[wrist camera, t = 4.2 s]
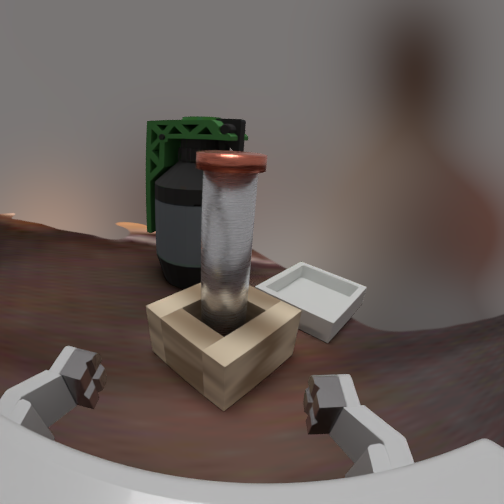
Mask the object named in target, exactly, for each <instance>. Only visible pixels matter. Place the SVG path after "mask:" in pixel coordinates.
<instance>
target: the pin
mask: <svg viewBox="0 0 504 504" xmlns="http://www.w3.org/2000/svg"><path fill="white" fill-rule="evenodd" d="M266 163H267V155H264V154H259V153H251V152H241V151H222V150H209V151H198V152H196V168H197V169H200V170H203V188H202V222H201V318H202V323H204V324H205V325H207V326H208V327H210V328H211V329H213V330H214V331H216V332H217V333H219V334H220V335H222V336H223V337H225V336H227V335H228V334H230V333H232V332H233V331H235V330H236V329H238V328H240V327H241V326H243V325H244V324H246V312H247V300H248V288H249V276H250V264H251V252H252V240H253V228H254V216H255V204H256V192H257V180H258V173H263V172H266V165H267V164H266Z"/></svg>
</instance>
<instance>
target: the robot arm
mask: <svg viewBox="0 0 504 504" xmlns="http://www.w3.org/2000/svg"><path fill="white" fill-rule="evenodd" d="M101 361H102V359H101V357H100V354H97V353H94V352H90V351H86V350H82V349H79V348H75V347H71V346H66V347H65V348H64V349H63V351H62V352H61V354H60V355H59V356H58V358H57V359H56V361H55V362H54V364H53V365H52V367H51V368H50V370H49V371H48V370H45V371H43V372H41V373H39V374H37V375H35V376H33V377H31V378H30V379H28V380H26V381H24V382H22V383H20V384H18V385H16V386H14V387H12V388H10V389H8V390H6V392H5V393H4V395H3V396H2V398H1V399H0V504H504V448H503V447H501V446H499V445H498V444H496V443H494V442H493V441H490V440H488V439H480V440H477V441H475V442H472V443H470V444H468V445H465V446H463V447H460V448H458V449H455V450H453V451H450V452H447V453H444V454H442V455H439V456H436V457H433V458H430V459H426V460H423V461H420V462H416V463H414V461H413V458H412V455H411V452H410V450H409V447H408V444H407V441H406V439H405V437H404V436H402V435H401V434H400V433H398V432H397V431H396V430H395V429H393V428H392V427H391V426H389V425H388V424H387V423H386V422H384V421H383V420H382V419H381V418H379V417H378V416H377V415H376V414H374V413H373V412H372V411H371V410H369V409H368V408H367V407H366V406H364V405H362V406H361V405H360V402H359V399H358V396H357V393H356V390H355V387H354V384H353V381H352V378H351V376H350V375H349V374H342V375H311V376H310V378H309V381H308V384H309V387H308V388H307V389H306V390H305V394H304V401H303V402H304V412H305V413H306V414H307V415H308V416H307V419H306V426H307V432H308V434H329V435H330V436H331V437H332V439H333V440H334V441H335V442H336V443H337V444H338V445H339V447H340V448H341V449H342V450H343V451H344V452H345V453H346V454H347V455H348V457H349V458H350V459H351V460H352V461H353V462H354V463H355V464H354V465H353V466H352V468H351V469H350V470H349V471H348V472H347V473H346V475H345V477H346V478H341V479H333V480H325V481H314V482H301V483H274V484H259V483H232V482H219V481H208V480H199V479H192V478H185V477H178V476H172V475H166V474H161V473H156V472H151V471H147V470H142V469H138V468H134V467H130V466H126V465H122V464H119V463H115V462H112V461H108V460H105V459H102V458H99V457H96V456H93V455H90V454H87V453H84V452H81V451H78V450H76V449H73V448H70V447H68V446H65V445H63V444H60V443H58V442H56V441H54V439H55V438H54V435H53V434H52V433H51V431H50V430H49V429H48V427H49V426H51V425H52V424H53V423H55V422H56V421H57V420H59V419H60V418H61V417H62V416H64V415H65V414H66V413H68V412H69V411H70V410H72V409H73V408H74V407H76V406H77V405H80V406H84V407H87V408H91V409H94V408H95V406H96V404H97V402H98V400H99V394H98V392H100V391H102V390H103V389H104V386H105V384H106V371H105V368H104V367H103V366H102V365H101V364H100V363H101ZM76 404H77V405H76Z"/></svg>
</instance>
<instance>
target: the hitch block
mask: <svg viewBox="0 0 504 504" xmlns="http://www.w3.org/2000/svg"><path fill="white" fill-rule="evenodd" d="M146 310H147V317H148V324H149V331H150V337H151V343H152V349H153V352H154V353H156V354H157V355H158V356H159V357H160V358H161V359H162V360H163V361H164V362H165V363H166V364H167V365H169V366H170V367H171V368H172V369H173V370H174V371H175V372H176V373H177V374H179V375H180V376H181V377H182V378H183V379H184V380H186V381H187V382H188V383H189V384H190V385H191V386H193V387H194V388H195V389H196V390H197V391H199V392H200V393H201V394H202V395H204V396H205V397H206V398H207V399H209V400H210V401H211V402H212V403H214V404H215V405H216V406H217V407H219V408H220V409H221V410H223V411H225V410H226V409H227V408H229V407H230V406H231V405H233V404H234V403H235V402H236V401H238V400H239V399H240V398H241V397H243V396H244V395H245V394H246V393H248V392H249V391H250V390H251V389H253V388H254V387H255V386H256V385H257V384H259V383H260V382H261V381H262V380H263V379H265V378H266V377H267V376H268V375H269V374H271V373H272V372H273V371H274V370H275V369H276V368H278V367H279V366H280V365H281V364H282V363H283V362H284V361H285V360H287V359H288V358H289V357H290V356H291V355H292V354H293V350H294V345H295V340H296V336H297V331H298V326H299V322H300V317H301V312H302V310H300V309H298V308H295V307H293V306H291V305H289V304H287V303H285V302H283V301H281V300H279V299H277V298H274V297H272V296H270V295H268V294H266V293H264V292H262V291H260V290H258V289H256V288H254V287H252V286H250V285H249V288H248V300H247V312H246V324H244V325H243V326H241V327H240V328H238V329H236V330H235V331H233V332H232V333H230V334H228V335H227V336H225V337H223V336H222V335H220V334H219V333H217V332H216V331H214V330H213V329H211V328H210V327H208V326H207V325H205V324H204V323H202V318H201V283H199V284H196V285H194V286H192V287H189V288H187V289H185V290H182V291H180V292H178V293H175V294H173V295H170V296H168V297H166V298H163V299H161V300H159V301H156V302H154V303H152V304H149V305H147V306H146Z"/></svg>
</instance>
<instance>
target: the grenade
mask: <svg viewBox="0 0 504 504" xmlns="http://www.w3.org/2000/svg"><path fill="white" fill-rule="evenodd" d="M245 124H246V122H245V120H241V119H221V118H216V117H183V119H182V120H161V121H147V138H146V211H147V232H149V233H152V232H154V231H156V246H157V255H158V258H159V261H160V264H161V267H162V270H163V273H164V276H165V278H166V279H167V281H168V282H169V283H171V284H172V285H174V286H176V287H179V288H182V289H187V288H189V287H192V286H194V285H196V284H199V283H201V222H202V188H203V170H200V169H197V168H196V152H198V151H209V150H222V151H230V148H231V149H232V150H233V151H241V152H243V150H244V140H248V136H247V135H246V134H245Z"/></svg>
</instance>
